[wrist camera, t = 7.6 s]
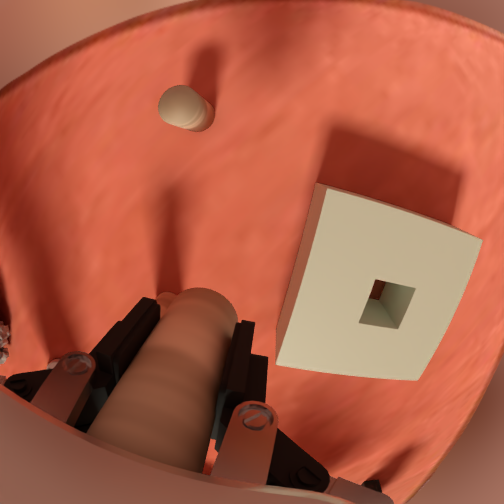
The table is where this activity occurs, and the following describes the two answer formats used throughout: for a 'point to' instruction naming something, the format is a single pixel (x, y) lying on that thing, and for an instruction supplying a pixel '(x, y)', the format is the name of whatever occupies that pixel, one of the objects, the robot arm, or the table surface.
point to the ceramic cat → (373, 485)
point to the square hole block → (360, 285)
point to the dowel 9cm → (172, 384)
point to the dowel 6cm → (186, 109)
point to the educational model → (3, 342)
